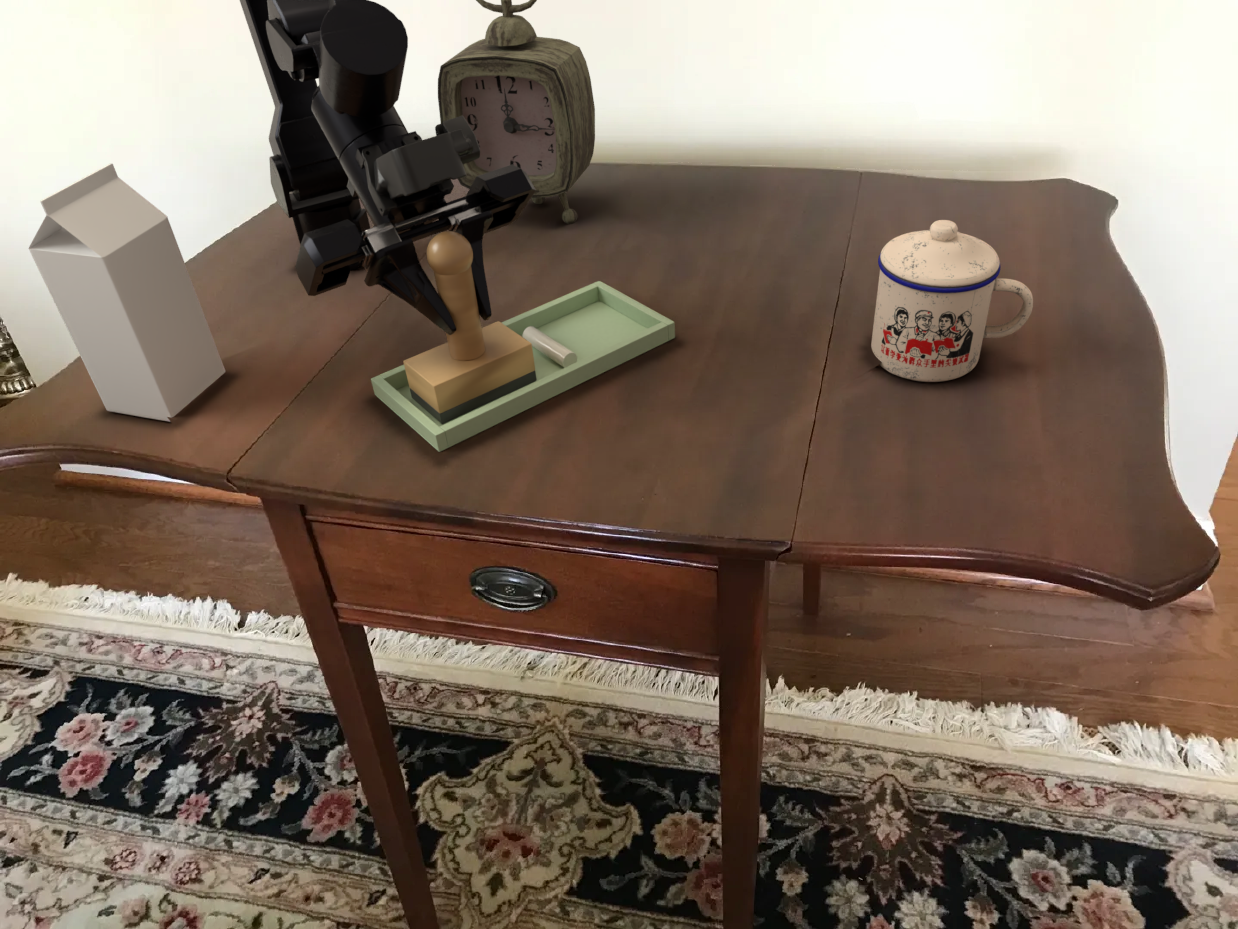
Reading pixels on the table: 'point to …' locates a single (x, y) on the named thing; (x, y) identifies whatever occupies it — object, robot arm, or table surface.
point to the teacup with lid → (938, 303)
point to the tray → (544, 359)
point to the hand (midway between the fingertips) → (470, 325)
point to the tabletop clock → (523, 104)
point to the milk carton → (125, 296)
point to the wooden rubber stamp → (465, 343)
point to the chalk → (549, 347)
